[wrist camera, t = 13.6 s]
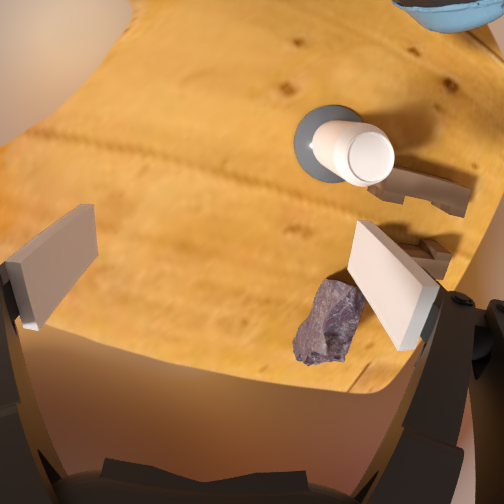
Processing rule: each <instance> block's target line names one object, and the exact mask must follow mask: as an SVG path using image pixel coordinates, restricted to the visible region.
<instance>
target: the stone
mask: <svg viewBox="0 0 504 504" xmlns="http://www.w3.org/2000/svg"><path fill="white" fill-rule="evenodd" d="M365 302H366V298H365V296H364V295H363V293H362V291H361V290H360V288H359V287H357V286H355V285H350V284H345V283H343V282H340V281H337V280H328V279H325V280H324V281H323V282H322V283H321V285H320V287H319V289H318V291H317V293H316V296H315V299H314V302H313V307H312V310H311V313H310V315H309V317H308V318H307V319H306V320H305V321H304V322H303V323H302V324H301V325H300V327H299V328H298V331H297V334H296V337H295V338H294V340H293V350H294V351H293V352H294V354H295V357H296V360H297V361H301V362H302V361H303V363H304V364H306V365H307V366H310V365H312V364H315V365H317V364H320V363H324V362H332V361H339V362H342V363H343V362H344V360H345V355H346V354H347V353H348V351H349V347H350V345H351V343H352V337H353V336H354V334H355V331H356V329H357V326H358V322H359V319H360V316H361V313H362V311H363V308H364V305H365Z"/></svg>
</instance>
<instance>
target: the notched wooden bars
mask: <svg viewBox="0 0 504 504" xmlns="http://www.w3.org/2000/svg"><path fill="white" fill-rule="evenodd" d="M471 190H472V189H469V188H467V187H465V186H463V185H460V184H458V183H456V182H454V181H451V180H448V179H444V178H441V177H437V176H434V175H430V174H427V173H423V172H419V171H415V170H412V169H408V168H404V167H400V166H396V165H393V168H392V170H391V172H390V174H389V175H388V176H387V177H386V178H385V179H384V180H382V181H380V182H378V183H375V184H373V185H370V186H368V190H367V191H369V192H370V193H372V194H373V195H375V196H376V197H378V198H379V199H381V200H382V201H387V202H392V203H397V204H402V205H403V201H404V197H405V196H410V197H415V198H419V199H424V200H428V201H432V202H431V204H432V205H434V206H436V207H438V208H439V209H441V210H443V211H444V212H446V213H448V214H449V215H454V216H458V217H462V218H464V216H465V213H466V209H467V205H468V202H469V198H470V194H471ZM395 243H396V242H395ZM396 244H397V245H398V246H399V247H400V248H401V249H402V250H403V251H404V252H406V253H407V254H408V255H409V256H410V257H411V258H412V259H413V260H414V261H415V262H416V263H417V264H418V265H419V266H421V267H423V268H424V269H425V270H427V271H428V272H429V273H430V274H431V276H433V277H434V278H435V279H437V280H443V279H444V276H445V273H446V271H447V268H448V265H449V262H450V260H451V257H452V254H451V253H450V252H449V251H448V250H446V249H445V248H444V247H443V246H441V245H440V244H439V243H438V242H436V241H433V240H427V239H421V240H420V244H419V246H417V245H410V244H403V243H396Z"/></svg>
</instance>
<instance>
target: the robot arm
mask: <svg viewBox="0 0 504 504" xmlns="http://www.w3.org/2000/svg"><path fill="white" fill-rule="evenodd" d="M392 3H393V4H394V5H395V6H397V7H398V8H400V9H403V10H404V11H405V12H407V13H408V14H409V15H410V16H411V17H412V18H414V19H415V20H416V21H417V22H418V23H419V24H420V25H421V26H423V27H424V28H426V29H428V30H430V31H434V32H439V33H459V32H464V31H468V30H472V29H475V28H478V27H481V26H483V25H486V24H488V23H490V22H492V21H494V20H496V19H498V18H500V17H501V16H502V15H503V14H504V13H503V12H504V0H392ZM97 256H98V247H97V238H96V227H95V215H94V204H80V205H79V206H77V207H76V208H74V209H73V210H72V211H70V212H69V213H67V214H66V215H64V216H63V217H62V218H60V219H59V220H57V221H56V222H55V223H53V224H52V225H51V226H49V227H48V228H46V229H45V230H44V231H42V232H41V233H40V234H38V235H37V236H36V237H35V238H33V239H32V240H31V241H29V242H28V243H27V244H26V245H24V246H23V247H22V248H20V249H19V250H18V251H17V252H15V253H14V254H13V255H12V256H11V257H9V258H8V259H7V260H6V261H5V262H4V263H2V264H1V265H0V504H450V503H451V501H452V497H453V494H454V491H455V488H456V485H457V481H458V477H459V474H460V470H461V467H462V463H463V458H464V451H463V449H462V448H459V447H457V446H456V444H457V440H458V436H459V432H460V427H461V423H462V418H463V413H464V408H465V402H466V397H467V390H468V387H469V394H470V402H471V410H472V419H473V431H474V443H475V444H474V445H475V470H476V493H475V504H504V301H501V300H496V299H493V300H491V301H490V302H489V305H488V307H487V309H486V310H482V309H477V308H475V303H474V301H473V300H472V299H471V298H469V297H468V296H467V295H465V294H463V293H460V292H456V291H447V290H446V289H445V288H444V287H443V286H442V285H441V284H440V283H439V282H438V281H436V279H435V278H434V277H433V276H431V274H430V273H429V272H428V271H427V270H425V269H424V268H423V267H421V266H419V265H418V264H417V263H416V262H415V261H414V260H413V259H412V258H411V257H410V256H409V255H408V254H407V253H406V252H404V251H403V250H402V249H401V248H400V247H399V246H398V245H397V244H396V243H395V242H394V241H393V240H392V239H390V238H389V237H388V236H387V235H386V234H385V233H384V232H383V231H382V230H380V229H379V228H378V227H377V226H376V225H375V224H374V223H373V222H371V221H364V220H357V225H356V230H355V235H354V240H353V245H352V250H351V254H350V259H349V263H348V268H347V270H348V271H349V273H350V274H351V276H352V277H353V279H354V281H355V282H356V284H357V285H358V287H359V288H360V290H361V291H362V293H363V295H364V296H365V298H366V299H367V301H368V302H369V304H370V306H371V307H372V309H373V310H374V312H375V314H376V315H377V317H378V319H379V320H380V322H381V323H382V325H383V327H384V328H385V330H386V332H387V333H388V335H389V337H390V338H391V340H392V342H393V343H394V345H395V347H396V348H397V350H398V351H404V350H415V347H416V345H417V343H418V340H419V338H420V336H421V338H422V339H423V341H424V342H425V344H424V346H423V348H422V350H421V352H420V355H419V357H418V359H417V361H416V363H415V365H414V366H415V369H414V372H413V374H412V377H411V379H410V382H409V384H408V387H407V389H406V391H405V394H404V396H403V398H402V401H401V403H400V405H399V407H398V410H397V412H396V414H395V416H394V418H393V420H392V422H391V425H390V427H389V429H388V431H387V433H386V435H385V437H384V439H383V441H382V443H381V445H380V447H379V448H378V450H377V452H376V454H375V456H374V458H373V459H372V461H371V463H370V465H369V467H368V468H367V470H366V472H365V474H364V475H363V477H362V479H361V480H360V482H359V484H358V485H357V487H356V488H355V490H354V491H353V492H352V494H351V495H350V496H348V495H347V494H345V493H342V492H340V491H338V490H335V489H332V488H329V487H326V486H322V485H318V484H314V483H308V482H307V476H306V471H293V472H271V473H253V474H249V475H244V476H239V477H234V478H229V479H223V480H217V481H211V482H199V481H195V480H191V479H188V478H185V477H182V476H178V475H176V474H173V473H170V472H167V471H164V470H161V469H159V468H156V467H153V466H148V465H141V464H136V463H130V462H124V461H119V460H114V459H109V458H105V460H104V464H103V468H102V470H91V471H84V472H80V473H76V474H73V475H70V476H68V474H67V473H66V471H65V469H64V467H63V465H62V463H61V461H60V459H59V457H58V454H57V452H56V450H55V448H54V445H53V443H52V440H51V438H50V436H49V433H48V431H47V428H46V425H45V423H44V420H43V417H42V415H41V412H40V409H39V406H38V403H37V401H36V398H35V394H34V391H33V388H32V385H31V382H30V378H29V375H28V371H27V368H26V364H25V360H24V356H23V352H22V348H21V344H20V340H19V335H18V330H17V327H16V324H15V321H14V320H15V319H16V318H17V317H18V316H19V315H20V318H21V321H22V324H23V327H24V328H27V329H32V330H37V331H39V330H40V329H41V327H42V326H43V325H44V323H45V322H46V321H47V319H48V318H49V317H50V315H51V314H52V313H53V311H54V310H55V309H56V307H57V306H58V305H59V303H60V302H61V301H62V299H63V298H64V297H65V295H66V294H67V293H68V292H69V290H70V289H71V288H72V287H73V285H74V284H75V283H76V282H77V280H78V279H79V278H80V277H81V275H82V274H83V273H84V272H85V271H86V269H87V268H88V267H89V266H90V264H91V263H92V262H93V261H94V260H95V259H96V257H97Z"/></svg>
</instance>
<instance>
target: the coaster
mask: <svg viewBox="0 0 504 504" xmlns="http://www.w3.org/2000/svg"><path fill="white" fill-rule="evenodd" d="M334 120H339V121H350V122H359V123H364V122H363V121H362V120H361V118H360V117H359V116H358V115H356V114H355V113H354V112H352V111H351V110H349V109H347V108H344V107H341V106H335V105H329V106H322V107H319V108H316V109H314V110H312V111H311V112H309V113H308V114H307V115H306V116H305V117H304V118H303V119H302V120H301V122H300V123H299V125H298V127H297V130H296V132H295V137H294V149H295V154H296V157H297V159H298V162H299V163H300V165H301V166H302V168H303V169H304V170H305V171H306V172H307V173H308V174H309V175H311V176H312V177H313V178H315V179H317V180H320V181H322V182H327V183H339V182H343V181H346V180H344V179H343V178H341V177H340V176H338V175H337V174H335V173H334V172H332V171H331V170H329V169H328V168H326V167H325V166H323V165H322V164H321V163H320V162H319V161H318V160H317V159H316V157H315V155H314V153H313V149H312V140H313V136H314V134H315V132H316V130H317V129H318V128H319V127H320V126H321V125H323V124H324V123H326V122H329V121H334Z"/></svg>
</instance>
